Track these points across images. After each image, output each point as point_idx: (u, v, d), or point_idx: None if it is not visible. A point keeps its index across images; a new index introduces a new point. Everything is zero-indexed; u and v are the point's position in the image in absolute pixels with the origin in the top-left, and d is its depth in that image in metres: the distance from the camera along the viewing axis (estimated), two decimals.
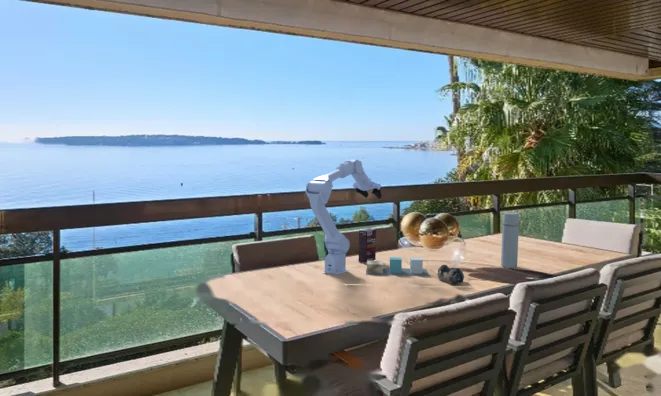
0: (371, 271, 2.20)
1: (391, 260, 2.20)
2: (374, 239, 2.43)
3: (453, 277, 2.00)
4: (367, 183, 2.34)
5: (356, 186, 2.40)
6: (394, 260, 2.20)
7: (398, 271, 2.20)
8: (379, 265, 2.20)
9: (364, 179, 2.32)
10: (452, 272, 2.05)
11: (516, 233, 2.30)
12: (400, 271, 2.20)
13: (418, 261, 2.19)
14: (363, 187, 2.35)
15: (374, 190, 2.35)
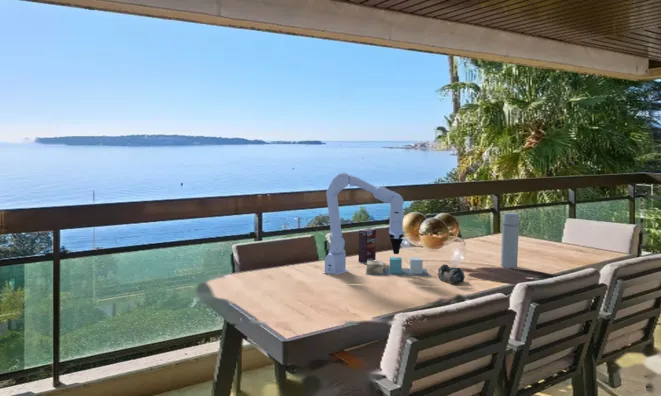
0: (371, 271, 2.20)
1: (391, 260, 2.20)
2: (374, 239, 2.43)
3: (454, 277, 2.01)
4: (394, 227, 2.18)
5: None
6: (394, 260, 2.20)
7: (398, 271, 2.20)
8: (379, 265, 2.20)
9: (394, 220, 2.18)
10: (453, 272, 2.05)
11: (516, 233, 2.30)
12: (400, 271, 2.20)
13: (418, 261, 2.19)
14: None
15: (393, 238, 2.17)
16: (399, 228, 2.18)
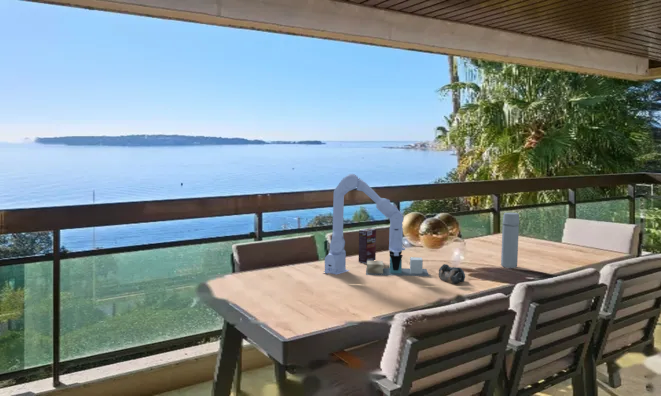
0: (371, 271, 2.20)
1: (391, 260, 2.20)
2: (374, 239, 2.43)
3: (454, 277, 2.01)
4: (394, 244, 2.19)
5: None
6: None
7: (398, 271, 2.20)
8: (379, 265, 2.20)
9: (393, 237, 2.19)
10: (453, 272, 2.05)
11: (516, 233, 2.30)
12: (400, 271, 2.20)
13: (418, 261, 2.19)
14: (389, 245, 2.21)
15: (392, 254, 2.18)
16: (399, 245, 2.19)
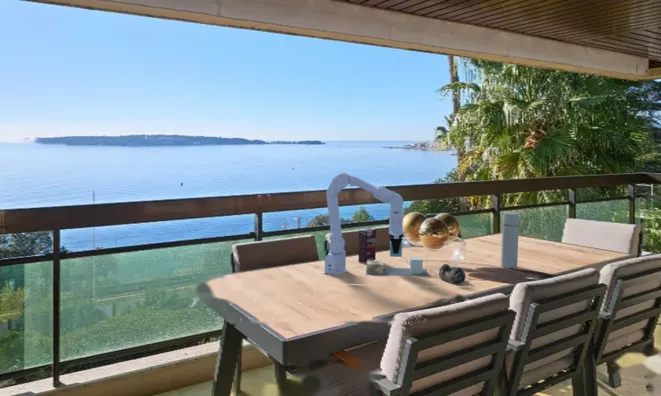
0: (371, 271, 2.20)
1: (391, 243, 2.19)
2: (374, 239, 2.43)
3: (455, 276, 2.01)
4: (394, 227, 2.18)
5: None
6: None
7: (398, 255, 2.19)
8: (379, 265, 2.20)
9: (393, 220, 2.18)
10: (454, 271, 2.06)
11: (516, 233, 2.30)
12: (400, 255, 2.19)
13: (418, 261, 2.19)
14: (389, 228, 2.20)
15: (392, 238, 2.17)
16: (399, 228, 2.18)
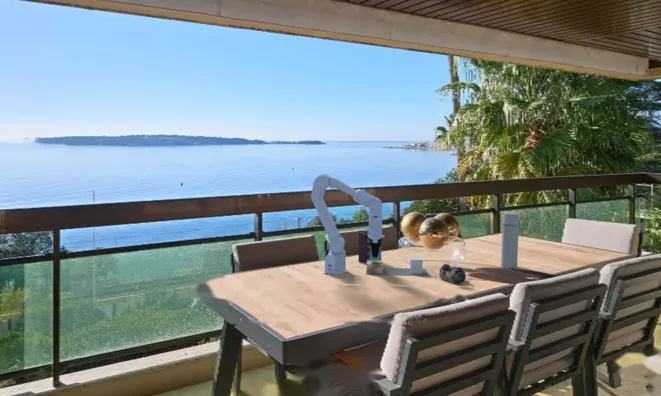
0: (371, 271, 2.20)
1: None
2: None
3: (455, 276, 2.02)
4: (373, 231, 2.19)
5: None
6: None
7: (378, 258, 2.20)
8: (379, 265, 2.20)
9: (373, 224, 2.19)
10: (454, 271, 2.06)
11: (516, 233, 2.30)
12: (380, 258, 2.20)
13: (418, 261, 2.19)
14: (369, 232, 2.21)
15: (371, 242, 2.18)
16: (378, 232, 2.19)
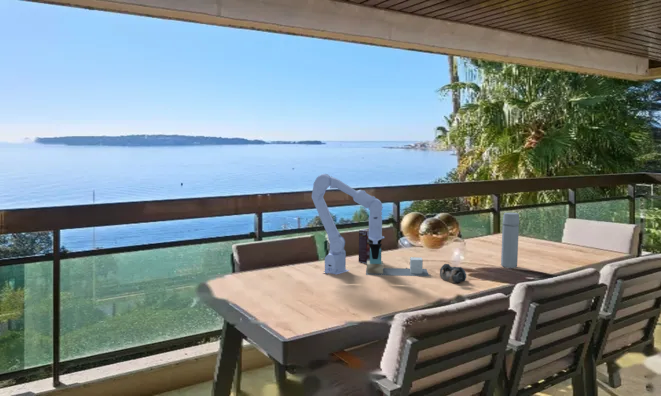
0: (371, 271, 2.20)
1: None
2: None
3: (456, 276, 2.02)
4: (373, 232, 2.19)
5: None
6: None
7: (378, 262, 2.20)
8: (379, 265, 2.20)
9: (373, 225, 2.19)
10: (454, 271, 2.06)
11: (516, 233, 2.30)
12: (380, 262, 2.20)
13: (418, 261, 2.19)
14: (369, 233, 2.21)
15: (371, 243, 2.18)
16: (378, 233, 2.19)
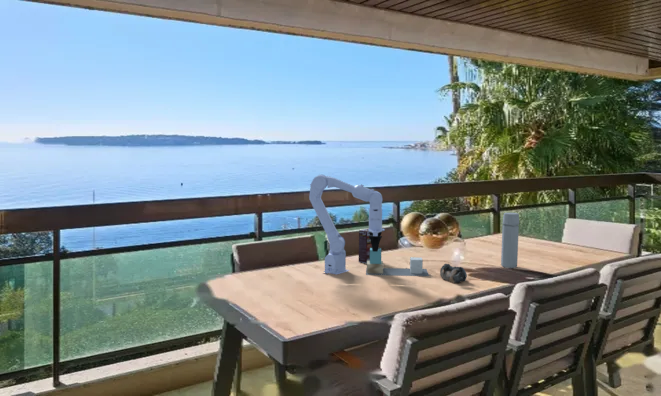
0: (371, 271, 2.20)
1: (371, 251, 2.20)
2: None
3: (456, 276, 2.02)
4: (373, 224, 2.19)
5: None
6: None
7: (378, 262, 2.20)
8: (379, 265, 2.20)
9: (373, 217, 2.18)
10: (455, 271, 2.06)
11: (516, 233, 2.30)
12: (380, 262, 2.20)
13: (418, 261, 2.19)
14: (369, 226, 2.21)
15: (372, 235, 2.17)
16: (378, 226, 2.19)
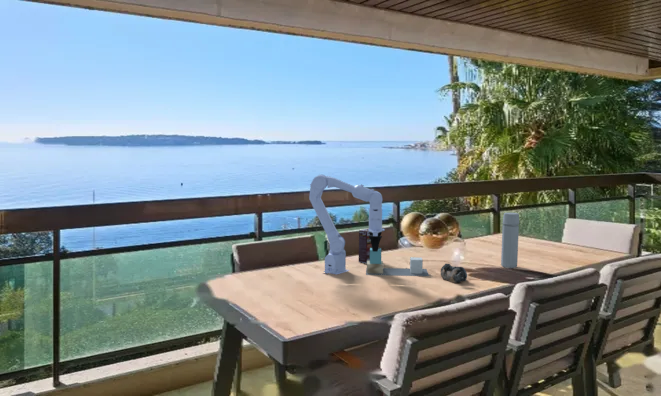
0: (371, 271, 2.20)
1: (371, 251, 2.20)
2: None
3: (457, 276, 2.02)
4: (373, 224, 2.19)
5: None
6: None
7: (378, 262, 2.20)
8: (379, 265, 2.20)
9: (373, 217, 2.18)
10: (455, 271, 2.07)
11: (516, 233, 2.30)
12: (380, 262, 2.20)
13: (418, 261, 2.19)
14: (369, 226, 2.21)
15: (372, 235, 2.17)
16: (378, 226, 2.19)
